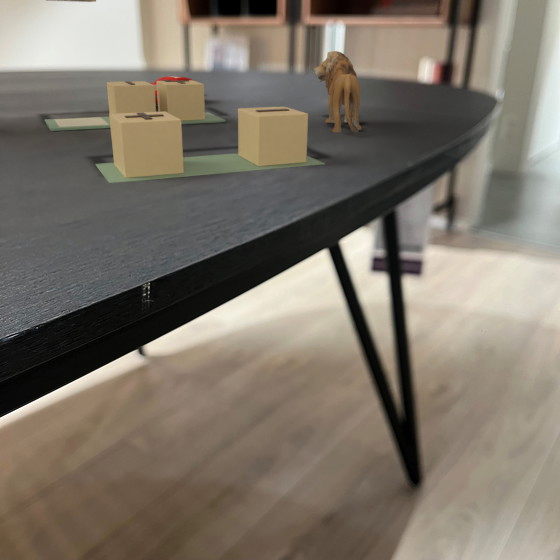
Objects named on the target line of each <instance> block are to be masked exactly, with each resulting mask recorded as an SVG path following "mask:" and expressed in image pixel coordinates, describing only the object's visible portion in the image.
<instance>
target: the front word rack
mask: <svg viewBox="0 0 560 560" xmlns="http://www.w3.org/2000/svg"><path fill="white" fill-rule="evenodd" d="M108 114H109V116H108V117H110V127H111V128H110V138H111V147H112V156H113V162H105V163H102V162H101V163H95V167H96V168H97V169H98V171H99V172H100V174H102V176H103V177H104V178H105V180H106V181H107V182H108V183H109V184H119V183H129V182H140V181H141V182H142V181H152V180H162V179H163V180H165V179H175V178H184V177H185V178H186V177H195V176H196V177H197V176H207V175H209V176H210V175H218V174H231V173H242V172H253V171H262V170H275V169H276V170H277V169H285V168H287V169H288V168H296V167H297V168H299V167H308V166H309V167H311V166H319V165H326V163H325V162H323V161H321V160H318V159H316V158H314V157H312V156H309V155H308V154H307V153H308V152H307V151H308V131H309V130H308V128H309V113H307V112H304V111H300V110H297V109H294V108H290V107H287V106H264V107H263V106H262V107H261V106H260V107H240V108H237V127H238V128H237V133H238V134H237V139H238V141H237V144H238V145H237V148H238V151H237V152H236V153H224V154H212V155H211V154H210V155H197V156H185V157H184V150H183V149H184V148H183V130H182V128H183V127H182V125H183V124H181V120H180V119H178V118H177V117H175V116H173V115H171V114H169V113H167V112H165V111H163V112H158V111H156V112H139V113H115V114H110V113H108Z"/></svg>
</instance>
